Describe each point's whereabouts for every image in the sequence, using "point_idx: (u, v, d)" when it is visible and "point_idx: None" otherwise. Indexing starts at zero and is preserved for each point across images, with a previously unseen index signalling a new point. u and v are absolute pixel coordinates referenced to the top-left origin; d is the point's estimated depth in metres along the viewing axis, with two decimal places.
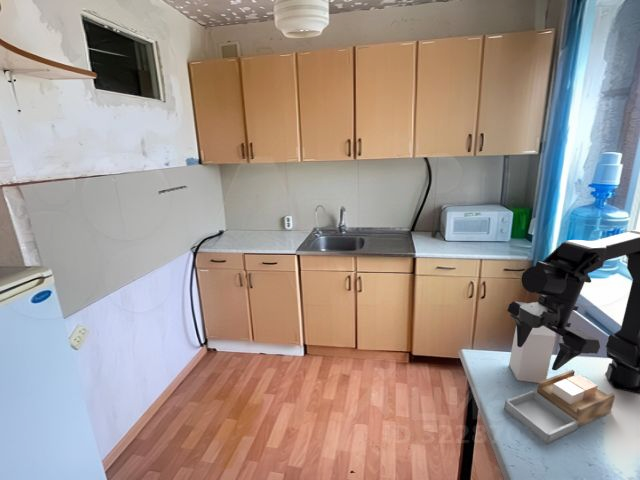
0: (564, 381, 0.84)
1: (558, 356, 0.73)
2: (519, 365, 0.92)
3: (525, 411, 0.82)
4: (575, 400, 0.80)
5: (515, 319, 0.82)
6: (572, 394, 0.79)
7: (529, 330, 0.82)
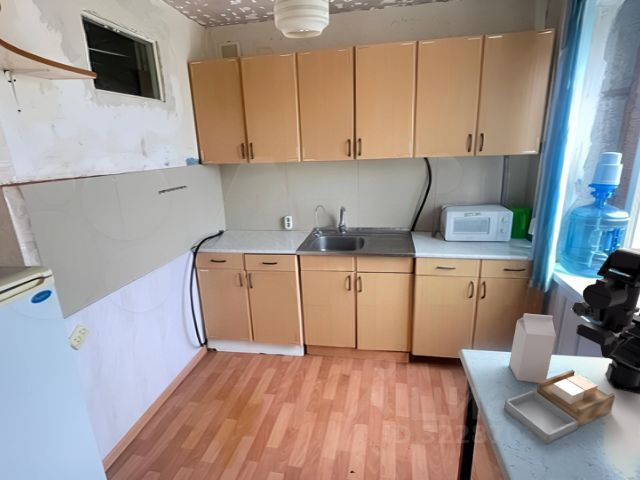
0: (564, 381, 0.84)
1: None
2: (519, 365, 0.92)
3: (525, 411, 0.82)
4: (575, 400, 0.80)
5: None
6: (572, 394, 0.79)
7: None
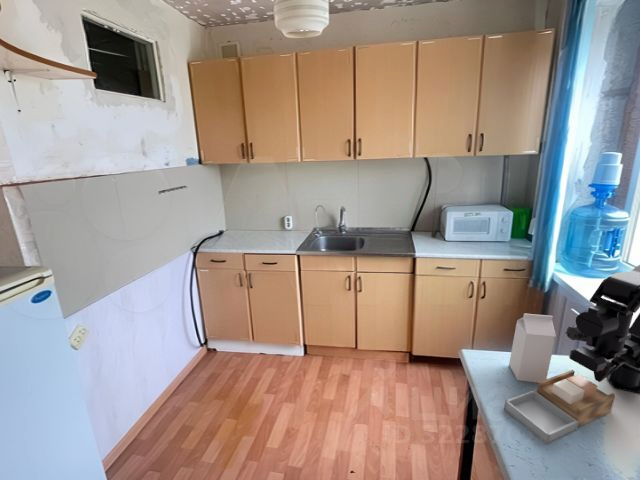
0: (564, 381, 0.84)
1: None
2: (519, 365, 0.92)
3: (525, 411, 0.82)
4: (575, 400, 0.80)
5: None
6: (572, 394, 0.79)
7: None
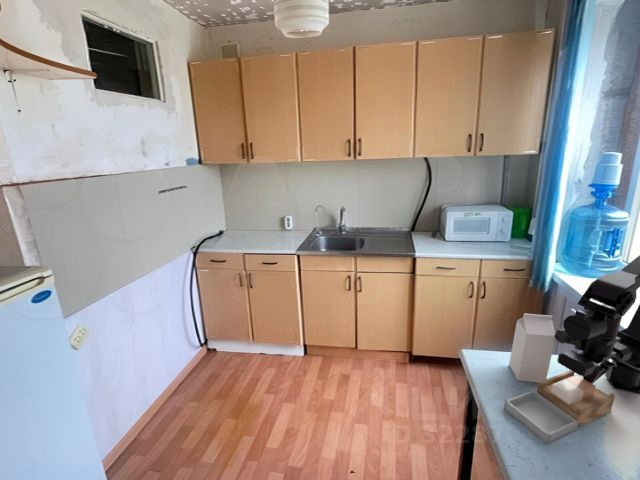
0: (563, 381, 0.84)
1: None
2: (519, 365, 0.92)
3: (525, 411, 0.82)
4: (574, 400, 0.80)
5: None
6: (571, 394, 0.79)
7: None
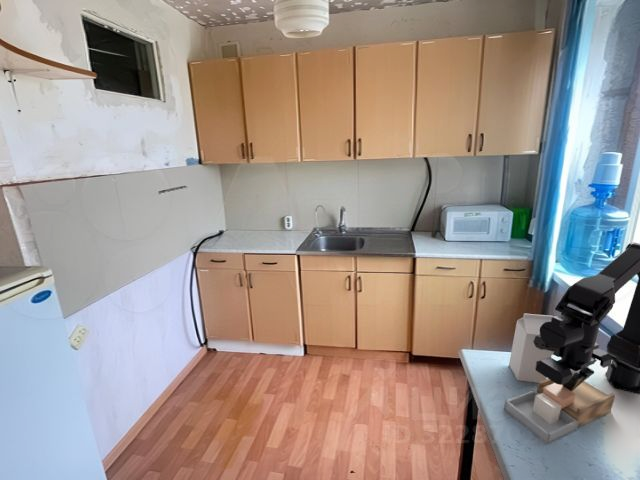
0: (536, 401, 0.81)
1: None
2: (519, 365, 0.92)
3: (525, 411, 0.82)
4: (557, 416, 0.79)
5: None
6: (549, 422, 0.78)
7: None
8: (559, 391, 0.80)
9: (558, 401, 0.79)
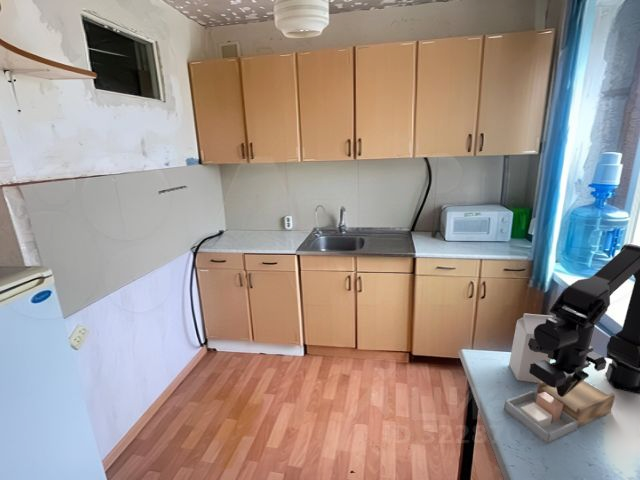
0: None
1: None
2: (519, 365, 0.92)
3: None
4: (546, 419, 0.77)
5: None
6: None
7: None
8: (545, 409, 0.80)
9: None
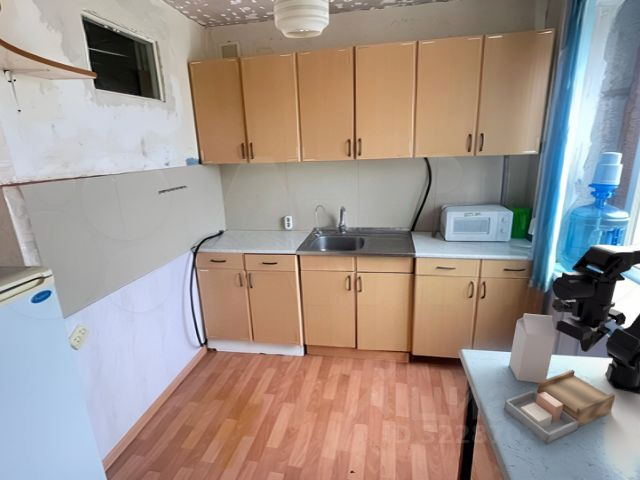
0: None
1: None
2: (519, 365, 0.92)
3: None
4: (546, 419, 0.77)
5: None
6: None
7: None
8: (545, 409, 0.80)
9: None
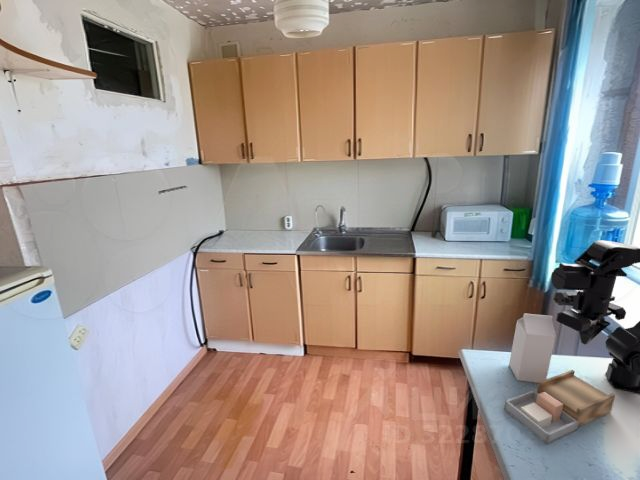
0: None
1: None
2: (519, 365, 0.92)
3: None
4: (546, 419, 0.77)
5: None
6: None
7: None
8: (545, 409, 0.80)
9: None
